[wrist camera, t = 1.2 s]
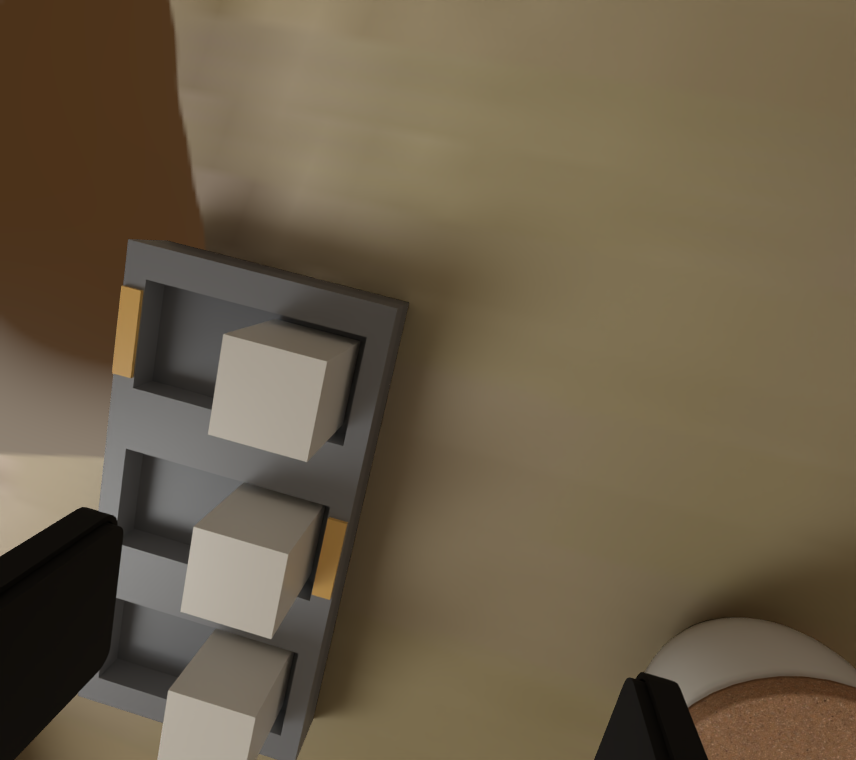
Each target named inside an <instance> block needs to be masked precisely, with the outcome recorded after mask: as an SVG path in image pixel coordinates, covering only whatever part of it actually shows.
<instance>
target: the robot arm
mask: <svg viewBox="0 0 856 760" xmlns="http://www.w3.org/2000/svg"><path fill="white" fill-rule="evenodd" d="M122 543H123V528H122V527H121V526H118V522H117V519H116V517H115V516H113V515H110V514H107V513H103V512H100V511H97V510H93V509H90V508H87V507H82V508H79V509H77V510H75V511H74V512H72V513H70V514H69V515H67V516H66V517H64V518H62V519H61V520H59V521H57V522H56V523H54V524H52V525H51V526H49V527H48V528H46V529H44V530H43V531H41V532H39V533H38V534H36V535H35V536H33V537H31V538H30V539H28V540H26V541H25V542H23V543H21V544H20V545H18V546H17V547H15V548H13V549H12V550H10V551H8V552H7V553H5V554H4V555H2V556H0V760H14V759H15V758H16V757H17V756H18V755H19V754H20V753H21V752H22V751H23V750H24V749H25V748H26V747H27V746H28V745H29V743H30V742H31V741H32V740H33V739H34V738H35V737H36V736H37V735H38V734H39V733H40V732H41V731H42V730H43V729H44V728H45V727H46V726H47V725H48V724H49V723H50V722H51V721H52V719H53V718H54V717H55V716H56V715H57V714H58V713H59V712H60V711H61V710H62V709H63V708H64V707H65V706H66V705H67V704H68V703H69V702H70V701H71V700H72V699H73V698H74V697H75V696H76V694H77V693H78V692H79V691H80V690H81V689H82V688H83V687H84V686H85V685H86V684H87V683H88V682H89V681H90V680H91V679H92V678H93V677H94V676H95V675H96V674H97V673H98V671H99V670H100V669H101V668H102V666H103V665H104V663H105V661H106V659H107V657H108V654H109V651H110V646H111V637H112V629H113V620H114V612H115V603H116V595H117V586H118V578H119V569H120V561H121V552H122ZM594 760H708V757H707V755H706V752H705V750H704V747H703V745H702V742H701V740H700V737H699V735H698V732H697V729H696V727H695V724H694V722H693V719H692V717H691V714H690V712H689V709H688V707H687V704H686V702H685V699H684V696H683V694H682V691H681V689H680V687H679V685H678V683H676V682H675V681H672V680H668V679H665V678H662V677H658V676H655V675H652V674H648V673H645V672H641V673H640V674H639V675H638V676H637V677H636V679H633V678H627V679H626V681H625V683H624V685H623V687H622V690H621V692H620V695H619V697H618V700H617V703H616V705H615V708H614V710H613V713H612V715H611V718H610V721H609V723H608V726H607V728H606V731H605V733H604V736H603V738H602V741H601V744H600V746H599V749H598V751H597V754H596V756H595V759H594Z"/></svg>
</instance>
